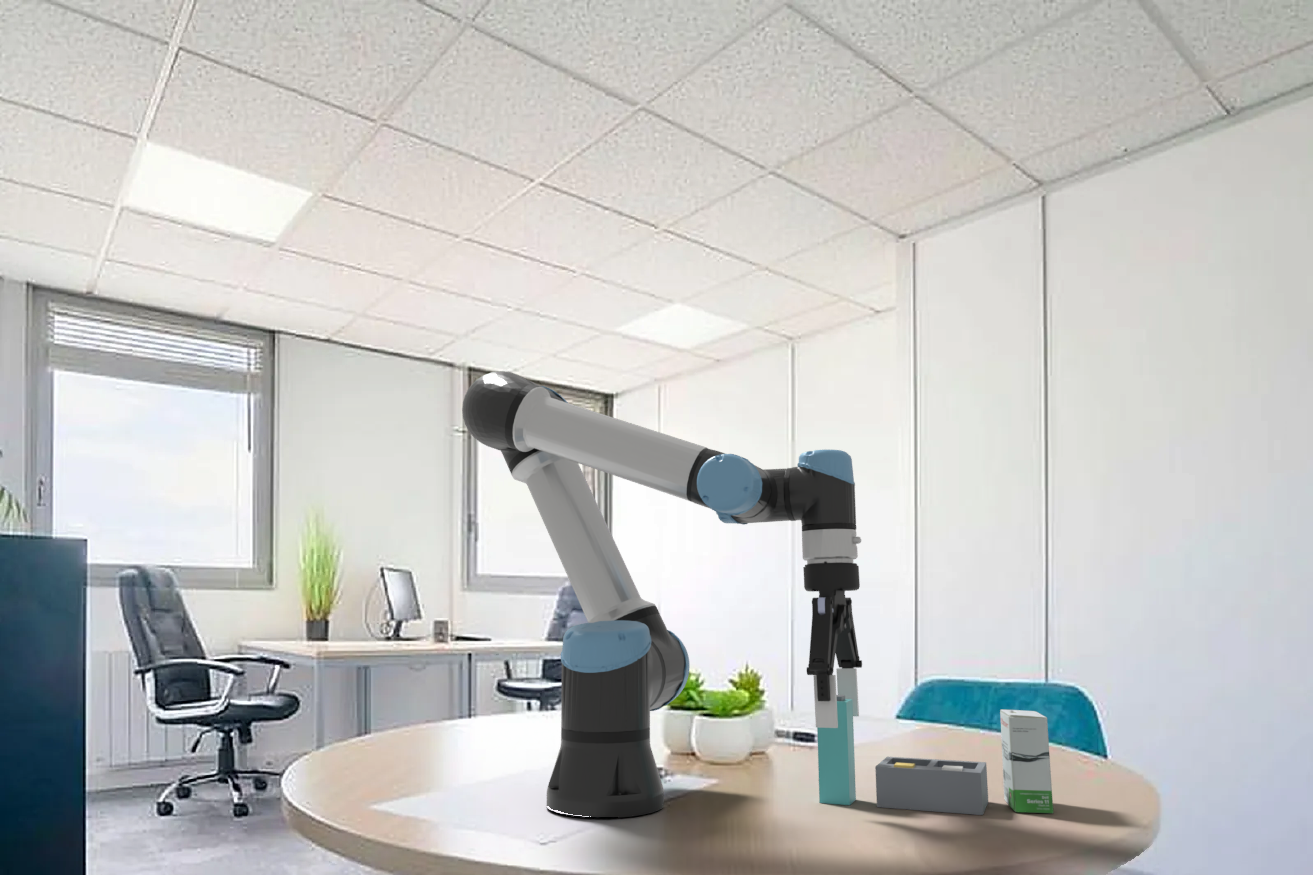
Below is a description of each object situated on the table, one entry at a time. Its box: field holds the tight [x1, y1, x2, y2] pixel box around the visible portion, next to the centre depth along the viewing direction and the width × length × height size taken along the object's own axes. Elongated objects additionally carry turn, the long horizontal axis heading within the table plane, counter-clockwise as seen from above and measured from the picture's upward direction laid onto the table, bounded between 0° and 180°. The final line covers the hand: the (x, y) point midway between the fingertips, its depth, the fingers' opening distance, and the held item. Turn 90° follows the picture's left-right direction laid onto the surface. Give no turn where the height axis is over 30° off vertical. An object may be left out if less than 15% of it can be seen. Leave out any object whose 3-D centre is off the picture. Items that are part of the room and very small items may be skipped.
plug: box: [816, 694, 857, 806], centre depth 131 cm, size 4×4×14 cm
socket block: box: [875, 756, 989, 816], centre depth 129 cm, size 13×9×5 cm
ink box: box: [999, 709, 1054, 814], centre depth 127 cm, size 9×5×12 cm, turn 168°
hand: (838, 721), depth 132 cm, fingers open, 13 cm apart
